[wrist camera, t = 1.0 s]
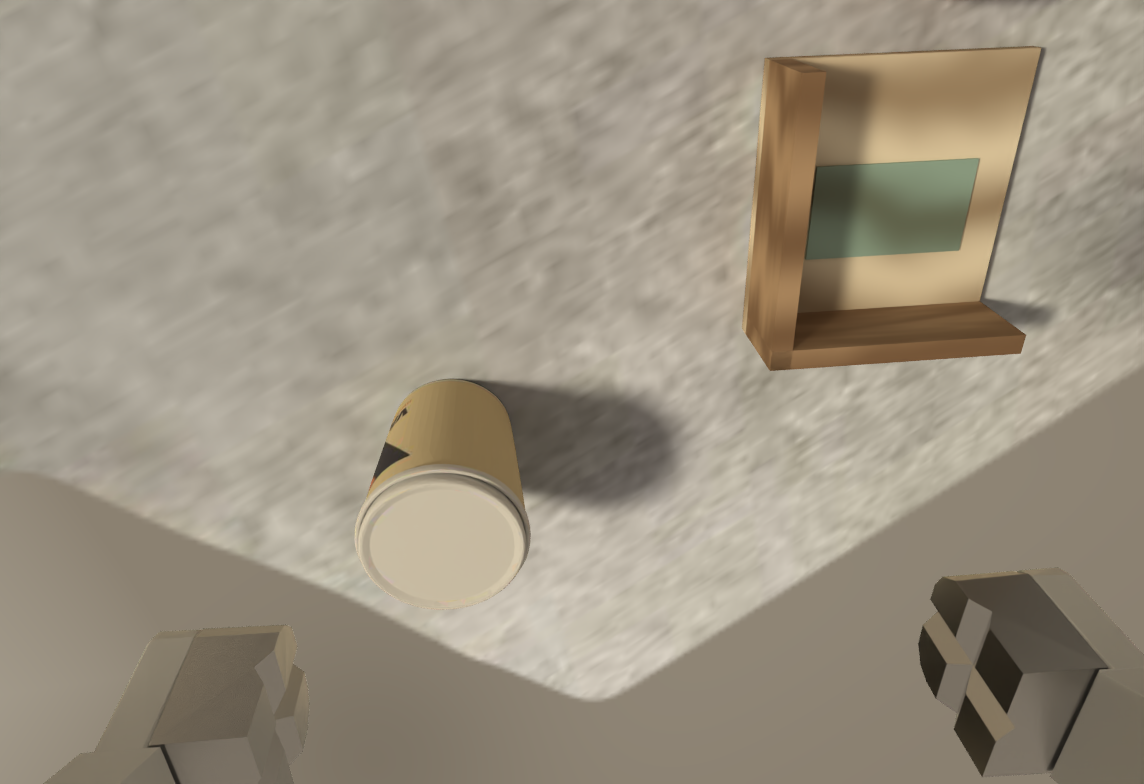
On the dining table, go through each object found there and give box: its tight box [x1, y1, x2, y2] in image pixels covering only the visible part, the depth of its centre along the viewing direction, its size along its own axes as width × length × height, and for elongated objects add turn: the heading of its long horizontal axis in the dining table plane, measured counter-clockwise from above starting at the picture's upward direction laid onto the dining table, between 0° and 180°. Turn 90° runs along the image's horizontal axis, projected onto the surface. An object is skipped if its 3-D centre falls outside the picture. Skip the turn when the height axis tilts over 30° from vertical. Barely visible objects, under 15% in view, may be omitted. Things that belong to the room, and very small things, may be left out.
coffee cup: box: [355, 379, 531, 610], centre depth 47 cm, size 9×9×12 cm
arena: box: [742, 46, 1041, 371], centre depth 44 cm, size 16×15×6 cm
